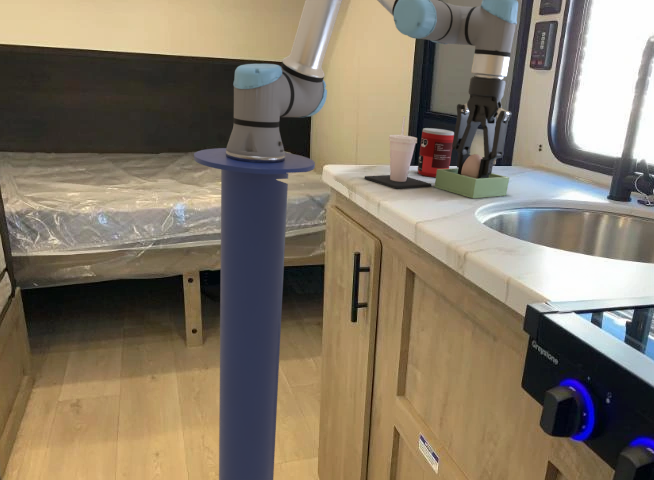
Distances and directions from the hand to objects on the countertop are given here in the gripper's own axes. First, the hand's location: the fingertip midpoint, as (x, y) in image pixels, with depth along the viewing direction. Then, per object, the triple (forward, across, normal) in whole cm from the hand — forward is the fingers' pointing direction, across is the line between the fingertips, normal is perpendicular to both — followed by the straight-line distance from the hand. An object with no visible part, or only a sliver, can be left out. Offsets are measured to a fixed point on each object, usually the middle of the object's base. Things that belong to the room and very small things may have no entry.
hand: (471, 185), depth 136 cm
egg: (0, 0, 0) cm, 0 cm away
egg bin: (+1, 0, 0) cm, 1 cm away
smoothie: (+1, +12, +12) cm, 17 cm away
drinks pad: (+1, +12, +12) cm, 17 cm away
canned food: (+1, +18, -6) cm, 19 cm away
